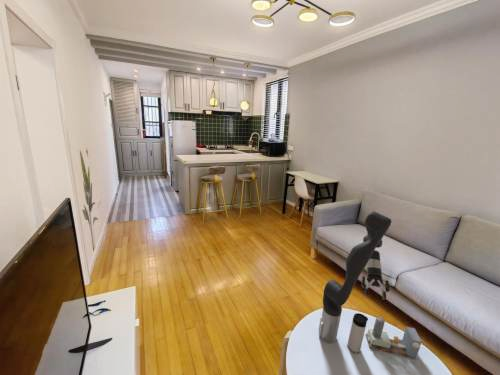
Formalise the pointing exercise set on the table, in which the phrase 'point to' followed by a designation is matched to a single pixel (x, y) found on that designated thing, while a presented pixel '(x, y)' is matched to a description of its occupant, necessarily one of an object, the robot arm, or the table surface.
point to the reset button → (397, 340)
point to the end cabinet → (411, 341)
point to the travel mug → (357, 332)
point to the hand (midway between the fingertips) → (375, 297)
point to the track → (393, 348)
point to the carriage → (379, 334)
